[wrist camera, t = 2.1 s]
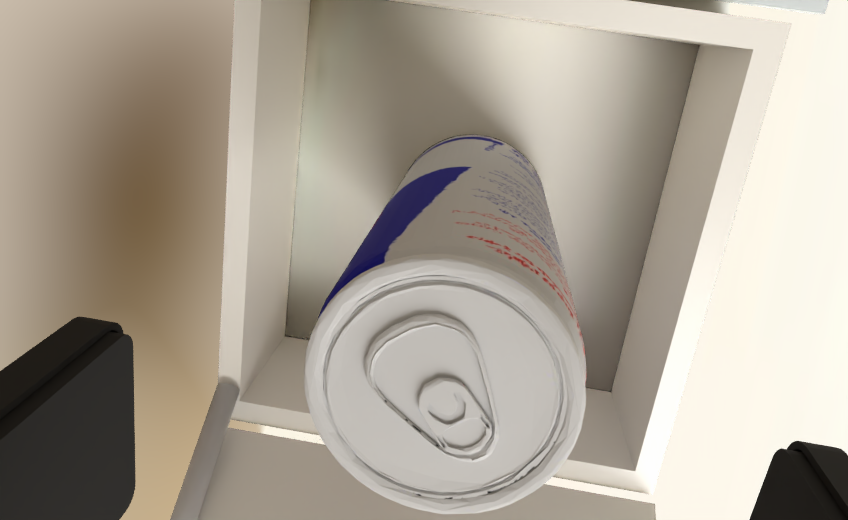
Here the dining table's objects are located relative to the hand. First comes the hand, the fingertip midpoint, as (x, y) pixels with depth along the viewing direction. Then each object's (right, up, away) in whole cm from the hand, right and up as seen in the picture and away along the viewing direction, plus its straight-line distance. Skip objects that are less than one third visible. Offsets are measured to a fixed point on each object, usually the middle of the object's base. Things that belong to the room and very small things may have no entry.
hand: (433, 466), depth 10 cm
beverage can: (+2, +5, +17) cm, 18 cm away
